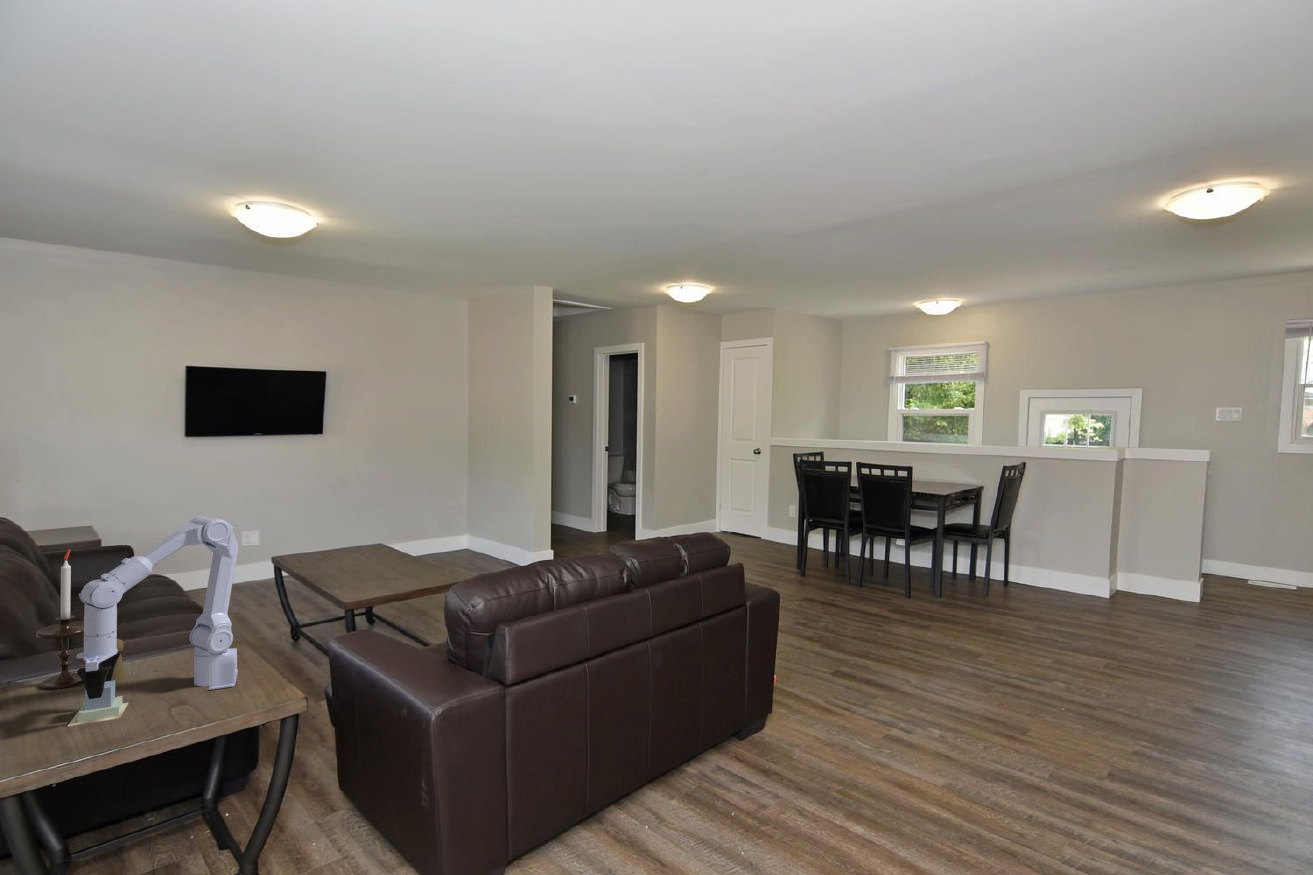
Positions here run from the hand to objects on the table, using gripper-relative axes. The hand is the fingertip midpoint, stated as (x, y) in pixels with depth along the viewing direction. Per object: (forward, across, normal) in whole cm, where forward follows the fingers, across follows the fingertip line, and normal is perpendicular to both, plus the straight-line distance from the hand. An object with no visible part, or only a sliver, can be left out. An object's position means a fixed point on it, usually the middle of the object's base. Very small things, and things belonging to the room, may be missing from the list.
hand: (99, 691), depth 148 cm
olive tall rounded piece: (+7, -25, -3) cm, 26 cm away
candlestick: (+7, -29, -13) cm, 32 cm away
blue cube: (+3, 0, 0) cm, 3 cm away
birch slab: (+7, 0, 0) cm, 7 cm away
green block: (+5, 0, 0) cm, 5 cm away
